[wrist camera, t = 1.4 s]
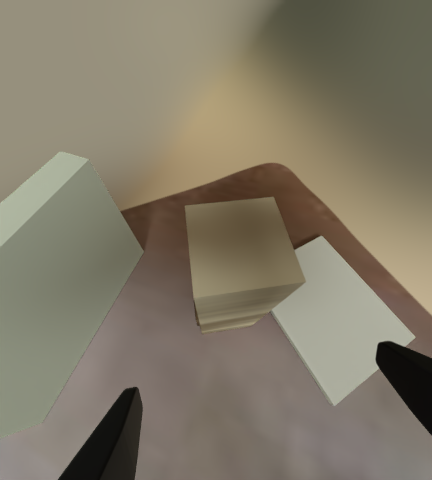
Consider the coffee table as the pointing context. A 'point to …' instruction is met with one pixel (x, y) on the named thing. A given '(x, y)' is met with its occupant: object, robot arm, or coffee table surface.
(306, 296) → the grey pad
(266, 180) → the coffee table surface
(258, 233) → the birch block
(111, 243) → the sage screen
